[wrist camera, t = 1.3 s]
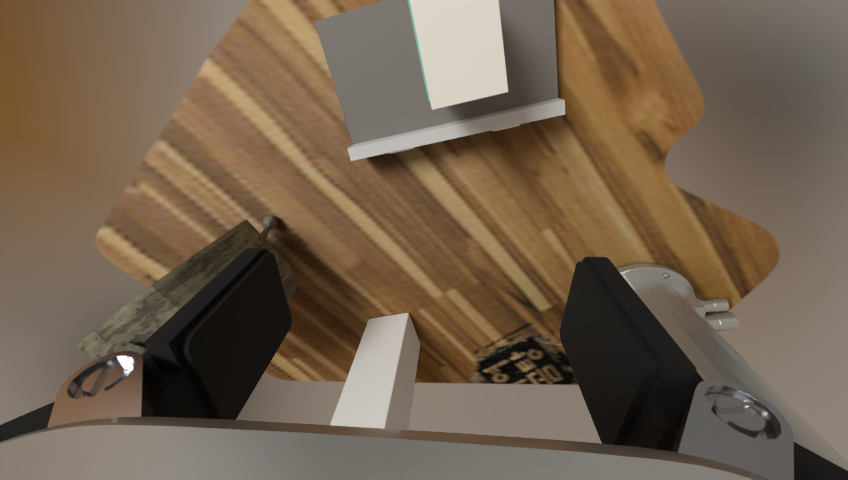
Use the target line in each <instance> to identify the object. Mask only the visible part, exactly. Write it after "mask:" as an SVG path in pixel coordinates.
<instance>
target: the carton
mask: <svg viewBox="0 0 848 480" xmlns="http://www.w3.org/2000/svg"><path fill="white" fill-rule="evenodd" d="M407 1H408V5H409V10H410V15H411V20H412V25H413V30H414V35H415V39H416V44H417V49H418V54H419V59H420V64H421V69H422V73H423V78H424V83H425V88H426V93H427V98H428V102H429V101H430V103H431V108H432V110H434V109H438V108H442V107H447V106H451V105H455V104H459V103H463V102H468V101H472V100H476V99H480V98H485V97H489V96H493V95H497V94H501V93H506V92H508V84H507V75H506V66H505V56H504V47H503V37H502V28H501V18H500V9H499V0H407Z"/></svg>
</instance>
